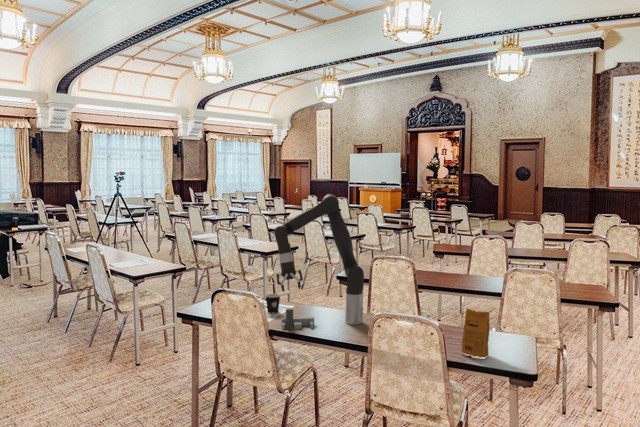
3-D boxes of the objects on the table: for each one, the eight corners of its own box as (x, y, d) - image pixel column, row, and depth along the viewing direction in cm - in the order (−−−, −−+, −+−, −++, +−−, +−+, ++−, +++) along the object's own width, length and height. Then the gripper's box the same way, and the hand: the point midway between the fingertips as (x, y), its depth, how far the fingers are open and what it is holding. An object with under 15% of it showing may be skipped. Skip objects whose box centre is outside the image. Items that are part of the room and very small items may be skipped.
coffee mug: (281, 309, 299) (281, 294, 298) (278, 314, 291) (278, 297, 290) (262, 309, 300) (262, 293, 299) (259, 313, 292) (259, 296, 291)
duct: (313, 324, 273) (313, 316, 272) (315, 328, 266) (315, 320, 265) (281, 325, 270) (281, 317, 270) (282, 329, 263) (282, 321, 263)
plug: (292, 327, 267) (292, 305, 266) (293, 329, 264) (293, 307, 263) (285, 327, 267) (285, 305, 266) (286, 329, 263) (286, 307, 262)
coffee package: (465, 349, 237) (467, 305, 235) (491, 355, 230) (493, 309, 228) (458, 355, 229) (459, 310, 227) (484, 361, 222) (486, 315, 220)
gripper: (273, 263, 264) (278, 293, 264) (299, 259, 266) (304, 288, 265) (274, 263, 272) (279, 291, 271) (299, 258, 273) (304, 287, 273)
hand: (291, 290), depth 268 cm, fingers open, 8 cm apart
